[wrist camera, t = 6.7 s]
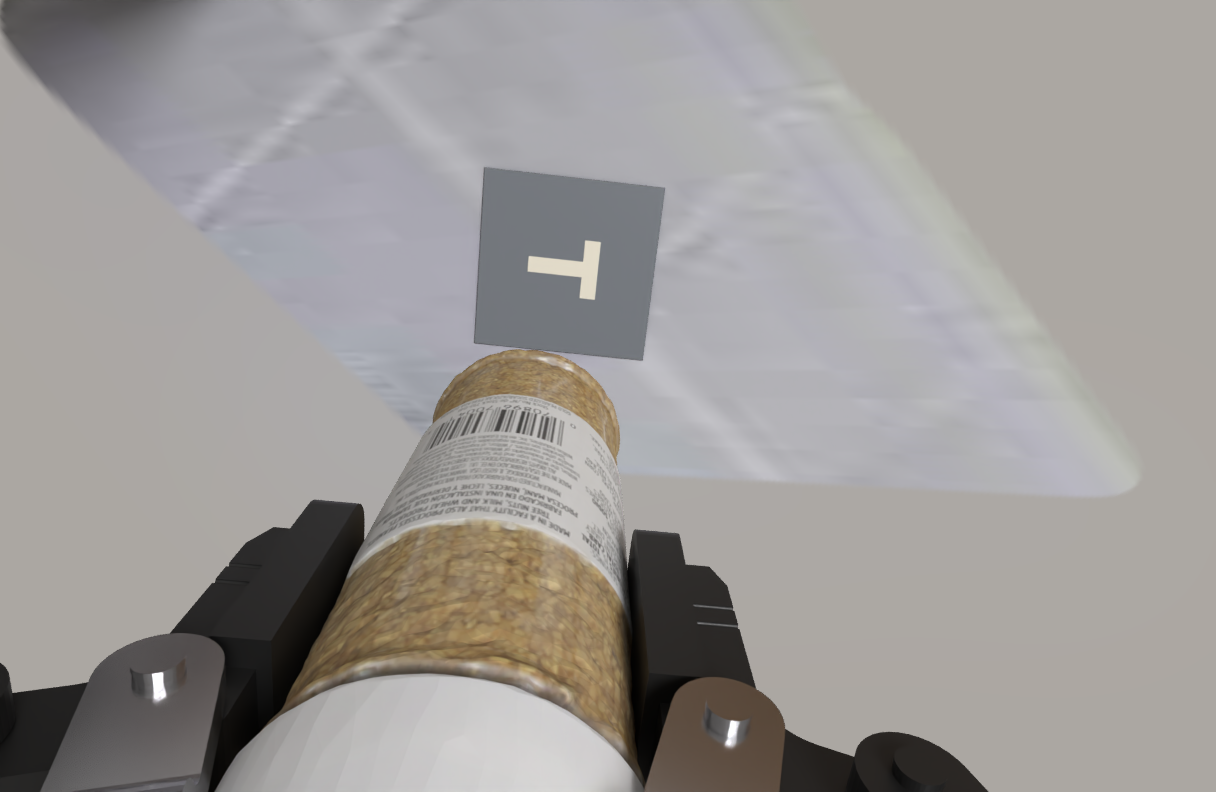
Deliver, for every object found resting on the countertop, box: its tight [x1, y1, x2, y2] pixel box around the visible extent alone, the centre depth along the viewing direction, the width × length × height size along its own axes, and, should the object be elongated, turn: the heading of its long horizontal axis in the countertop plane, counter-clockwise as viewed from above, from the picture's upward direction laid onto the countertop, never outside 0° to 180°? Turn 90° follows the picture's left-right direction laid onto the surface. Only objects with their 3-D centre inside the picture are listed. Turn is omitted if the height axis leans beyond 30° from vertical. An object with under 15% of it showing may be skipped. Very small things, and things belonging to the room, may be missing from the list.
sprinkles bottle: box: [215, 349, 646, 792], centre depth 13 cm, size 5×5×13 cm
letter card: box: [475, 167, 665, 360], centre depth 40 cm, size 9×9×1 cm
